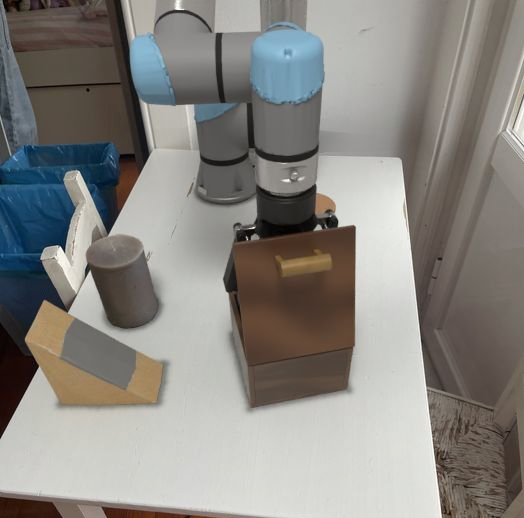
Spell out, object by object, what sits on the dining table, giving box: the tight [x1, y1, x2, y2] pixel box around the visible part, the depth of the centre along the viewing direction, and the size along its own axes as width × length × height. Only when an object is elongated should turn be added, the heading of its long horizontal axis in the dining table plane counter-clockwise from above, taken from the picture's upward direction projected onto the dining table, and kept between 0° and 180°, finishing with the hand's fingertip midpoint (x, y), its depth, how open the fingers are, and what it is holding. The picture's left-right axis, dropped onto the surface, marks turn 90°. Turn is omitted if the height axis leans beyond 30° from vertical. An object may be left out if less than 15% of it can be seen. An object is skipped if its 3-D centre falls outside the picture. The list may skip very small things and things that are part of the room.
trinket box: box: [314, 192, 337, 231], centre depth 102 cm, size 11×11×9 cm
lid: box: [231, 224, 357, 366], centre depth 62 cm, size 17×16×6 cm
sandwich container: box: [24, 299, 164, 406], centre depth 73 cm, size 9×15×15 cm, turn 90°
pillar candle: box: [85, 233, 159, 329], centre depth 86 cm, size 10×10×15 cm
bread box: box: [227, 291, 355, 409], centre depth 78 cm, size 17×16×10 cm
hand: (285, 314), depth 75 cm, fingers closed on cheese, 11 cm apart
